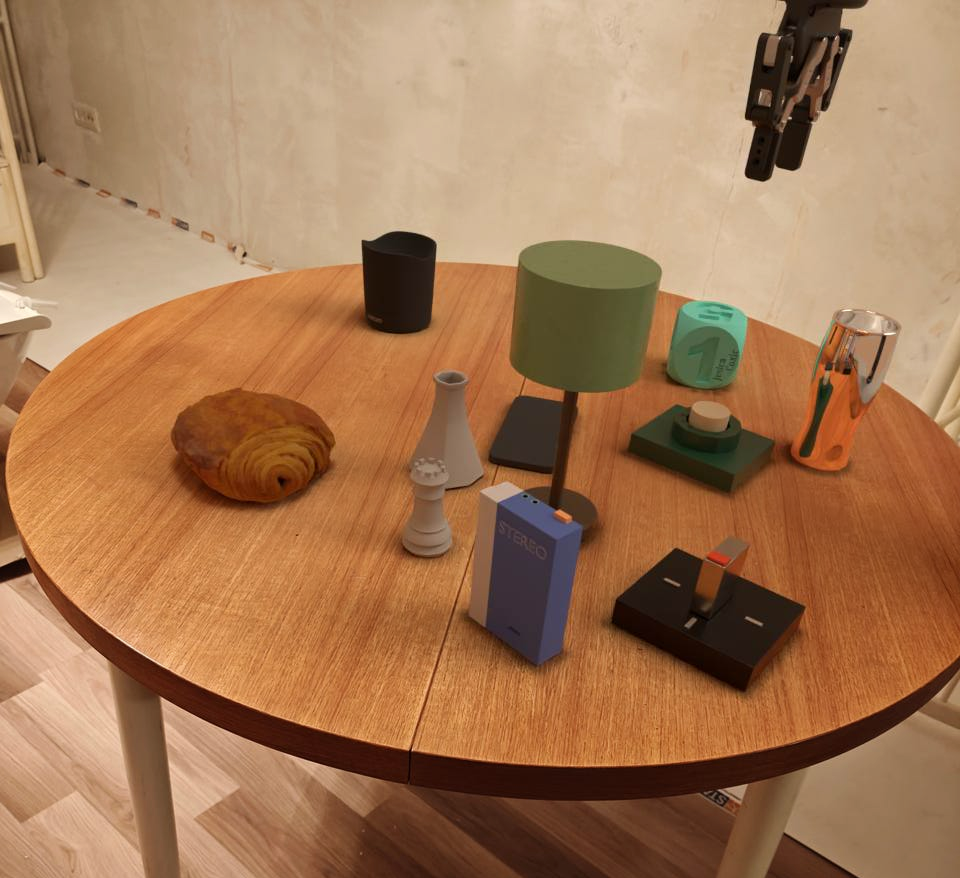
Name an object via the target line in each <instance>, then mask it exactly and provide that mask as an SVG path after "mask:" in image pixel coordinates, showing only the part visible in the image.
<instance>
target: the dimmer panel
mask: <svg viewBox="0 0 960 878" xmlns="http://www.w3.org/2000/svg"><path fill="white" fill-rule="evenodd" d="M703 560H704V558H701V557H698V556H696V555H694V554H691V553H689V552H687V551H685V550H684V549H680V548H679V547H674V548H673V549H672V550H671V551H669V552H668V554H666V555H665V556H664V557H663V558H661V560H659V561H658V562H657V563H655V565H653V566H652V567H651V568H650V569H649V570H648V571H646V572H645V573H644V574H643V575H642V576H641V577H640V578H638V579H637V580H636V581H635V582H633V584H631V586H629V587H628V588H627V589H625V591H623V592H622V593H621V594H620V595H618V596H617V597H616V598H615V600H614V606H613V610H612V614H611V620H610V623H611V624H612V625H614V626H616V627H618V628H619V629H622V630H624V631H626V632H628V633H630V634H631V635H633V636H635V637H637V638H639V639H641V640H643V641H645V642H647V643H649V644H651V645H653V646H655V647H657V648H659V650H660V649H661V650H662V651H665V653H668V654H670V655H672V656H674V657H676V658H677V659H680V660H682V661H684V662H686V663H687V664H689V665H692V666H693V667H695V668H697V669H700V670H701V671H703V672H705V673H707V674H709V675H711V676H713V677H715V678H717V679H719V680H721V681H723V682H724V683H726V684H728V685H731V686H732V687H734V688H736V689H737V690H740V691H742V692H744V693H745V692H746V691H748V690H749V688H750V687H751V686H752V685H753V683H754V682H755V681H756V680H757V678H758V677H759V676H760V675H761V674H762V673H763V672H764V670H765V669H766V668H767V666H768V665H769V664H770V663H771V661H773V659H774V658H775V657H776V656H777V655H778V653H779V652H780V651H781V650H782V648H783V647H784V646H785V645H786V644H787V643H788V642H789V640H790V639H791V638H792V636H793V635H794V634H795V633H796V632H797V630H798V629H799V626H800V624H801V621H802V618H803V615H804V613H805V611H806V608H807V606H806V605H804V604H802V603H799V602H797V601H795V600H793V599H791V598H788V597H787V596H784V595H782V594H780V593H778V592H775V591H772V590H771V589H768V588H766V587H765V586H762V585H760V584H758V583H755V582H753V581H751V580H749V579H747V578H744V577H742V576H740V578H739V581H738V584H737V587H736V590H735V593H734V595H733V596H732V597H731V598H730V599H729V600H728V601H727V602H726V603H725V604H724V605H723V606H722V607H721V608H720V609H719V610H718V611H717V612H716V613H715V614H714V615H713V616H712V617H711V618H710V619H707V618H705V617H703V616H701V615H699V614H697V613H695V612H693V611H691V610H689V608H690V605H691V601H692V598H693V594H694V591H695V587H696V584H697V580H698V577H699V573H700V570H701V567H702V563H703Z"/></svg>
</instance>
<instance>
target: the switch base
mask: <svg viewBox="0 0 960 878" xmlns="http://www.w3.org/2000/svg"><path fill="white" fill-rule="evenodd" d="M691 407H692V406H687V407H686V406H684V405H681V404H679V403H676V404H675V405H673V406H671V407H669V408H668V409H667V410H665V411H664V412H661V413H660V414H659V415H657V416H656V417H654V418H653V419H651V420H650V421H648V422H647V423H645V424H644V425H642V426H640V427H639V428H637V429H636V430H634V431H633V432H631V434H630V439H629V444H628V449H627V452H628V453H630V454H633V455H636V456H638V457H641V458H642V459H645V460H647V461H649V462H652V463H654V464H657V465H660V466H662V467H664V468H666V469H669V470H671V471H674V472H676V473H678V474H681V475H684V476H686V477H689V478H691V479H694V480H696V481H698V482H700V483H703V484H705V485H708V486H710V487H713V488H715V489H717V490H719V491H720V490H721V491H723V492H725V493H727V494H731V493H732V492H733V491H734V490H736V488H738V487H739V486H740V485H741V484H742V483H744V481H746V480H747V479H748V478H750V477H751V476H752V475H753V474H754V473H755V472H756V471H758V470H760V468H761V467H763V466H764V465H765V464H766V463H767V462H768V461H769V460H771V458H772V455H773V452H774V448H775V445H776V442H777V441H776V440H774V439H772V438H769V437H767V436H764V435H761V434H758V433H756V432H753V431H750V430H748V429H745V428H742V424H741V421H740V420H739V419H738V418H736V417H735V416H734V415H733V414H732V413H730V417H729V421H728V424H727V428H726V430H725V431H722V432H709V431H703V430H700V429H697V428H695V427H693V426H691V425H690V424H689V423H688V420H689V416H690V411H691Z"/></svg>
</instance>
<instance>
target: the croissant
mask: <svg viewBox="0 0 960 878" xmlns="http://www.w3.org/2000/svg"><path fill="white" fill-rule="evenodd" d="M170 441H171V443H172V445H173V448H174V450H175V452H177V454H178V455H179V457H180V458H181V459H182V460H183V462H184V463H185V465H186V466H187V467H189V468H190V469H191V470H192V471H193V472H194V473H195V474H196V476H197V477H199V479H200V480H202V481H203V482H204V484H206V486H208V487H209V488H211V489H212V490H213V491H217V493H220V494H222V495H223V496H224V497H227V498H229V499H234V500H238V501H242V502H245V501H247V502H251V501H253V502H257V503H263V504H268V503H271V502H277V501H278V502H279V501H281V500H283V499H285V498H286V497H288V496H291V495H293V494H294V493H295V492H296V491H298V490H303V489H305V488H307V486H308V484H309V481H310V480H311V481H312V480H315V479H317V478H319V477H320V475H321V474H323V473H324V472H325V471H326V469H327V467H328V466H329V462H331V461H332V459H331V458H330V456H331V452H332V449H334V447H336V445H337V442H336V440H335V435H334V433H333V431H332V430H331V428H330V427H329V426H328V424H327V423H326V422H325V420H323V418H322V417H321V416H320V415H319V413H317V412H316V410H314V409H312V408H310V407H308V406H307V405H305V404H302V403H300V402H298V401H296V400H294V399H291V398H287V397H283V396H280V395H279V394H278V393H277V394H276V393H267V392H255V391H250V390H244V389H243V388H242V387H236V388H231V389H229V390H225V391H220V392H217V393H213V394H209V395H205V396H204V397H203V398H201V399H200V400H198V401H197V402H195V403H193V404H188V405H187V406H186V407H185V408H184V410H182V411H180V412H179V413H178V415H177V416H176V418H175V421H174V425H173V427H172V428H171V432H170Z"/></svg>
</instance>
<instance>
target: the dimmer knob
mask: <svg viewBox="0 0 960 878" xmlns="http://www.w3.org/2000/svg"><path fill="white" fill-rule="evenodd" d="M750 547H751V543H750V542H747V541H745V540H742V539H740V538H738V537H735V536H734V535H731V534H730V535H728V536H727V537H726V538H725V539H724V540H723V541H722V542H721V543H719V544H718V545H717V546H716V547H715V548H713V549H712V551H710V552H709V553H708V554H707V555H706V556H705V557H704V558H703V563H702V567H701V570H700V573H699V577H698V580H697V584H696V587H695V591H694V594H693V598H692V601H691V605H690V608H689V610H691V611H693V612H695V613H697V614H699V615H701V616H703V617H705V618H707V619H710V618H711V617H712V616H713V615H714V614H715V613H716V612H717V611H718V610H719V609H720V608H721V607H722V606H723V605H724V604H725V603H726V602H727V601H728V600H729V599H730V598H731V597H732V596H733V595H734V593H735V590H736V587H737V584H738V581H739V578H740V577H741V575H742V571H743V568H744V565H745V562H746V559H747V556H748V554H749V550H750Z"/></svg>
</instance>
